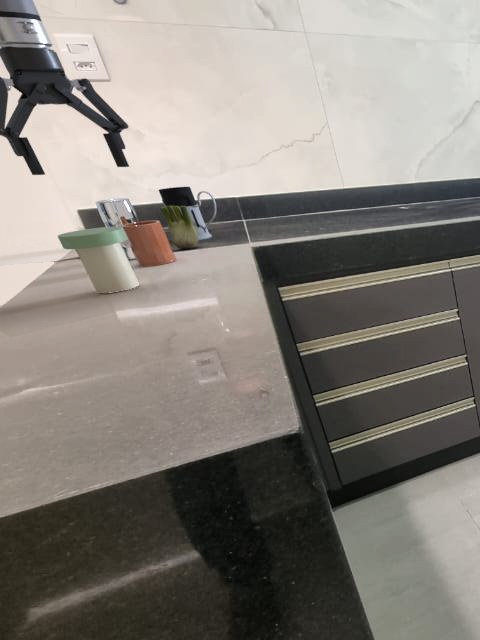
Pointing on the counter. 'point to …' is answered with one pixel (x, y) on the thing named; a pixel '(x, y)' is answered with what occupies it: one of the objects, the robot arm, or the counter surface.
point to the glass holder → (188, 207)
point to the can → (108, 268)
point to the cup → (149, 243)
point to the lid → (92, 237)
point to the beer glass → (118, 218)
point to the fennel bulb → (180, 227)
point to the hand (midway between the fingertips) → (83, 170)
